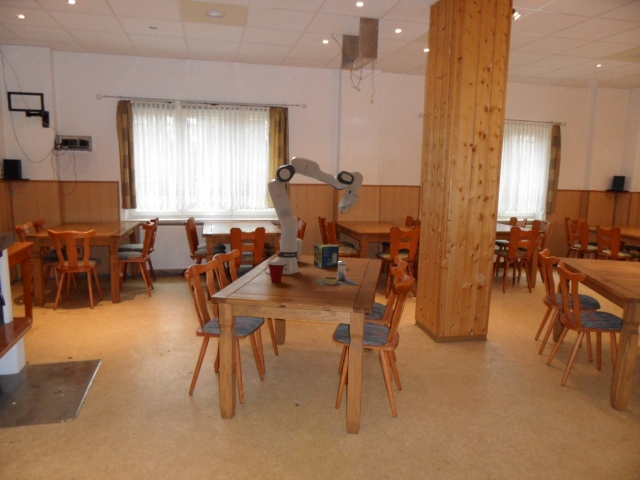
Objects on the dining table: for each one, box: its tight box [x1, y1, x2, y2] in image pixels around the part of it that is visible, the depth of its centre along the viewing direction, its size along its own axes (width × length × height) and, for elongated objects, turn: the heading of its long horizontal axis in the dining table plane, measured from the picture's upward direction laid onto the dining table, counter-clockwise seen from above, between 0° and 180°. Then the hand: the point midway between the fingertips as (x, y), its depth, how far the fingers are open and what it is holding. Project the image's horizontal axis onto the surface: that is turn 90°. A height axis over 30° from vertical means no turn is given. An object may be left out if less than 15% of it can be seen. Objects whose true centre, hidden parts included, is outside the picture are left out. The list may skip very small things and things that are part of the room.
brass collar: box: [321, 276, 338, 286], centre depth 272 cm, size 10×10×3 cm
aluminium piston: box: [337, 260, 347, 281], centre depth 280 cm, size 5×5×12 cm
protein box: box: [313, 243, 340, 269], centre depth 328 cm, size 10×15×16 cm
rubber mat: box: [315, 278, 359, 287], centre depth 276 cm, size 23×17×1 cm
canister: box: [278, 237, 304, 263], centre depth 343 cm, size 18×18×21 cm
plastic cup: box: [267, 261, 285, 284], centre depth 277 cm, size 11×11×12 cm
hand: (343, 213), depth 299 cm, fingers open, 8 cm apart
